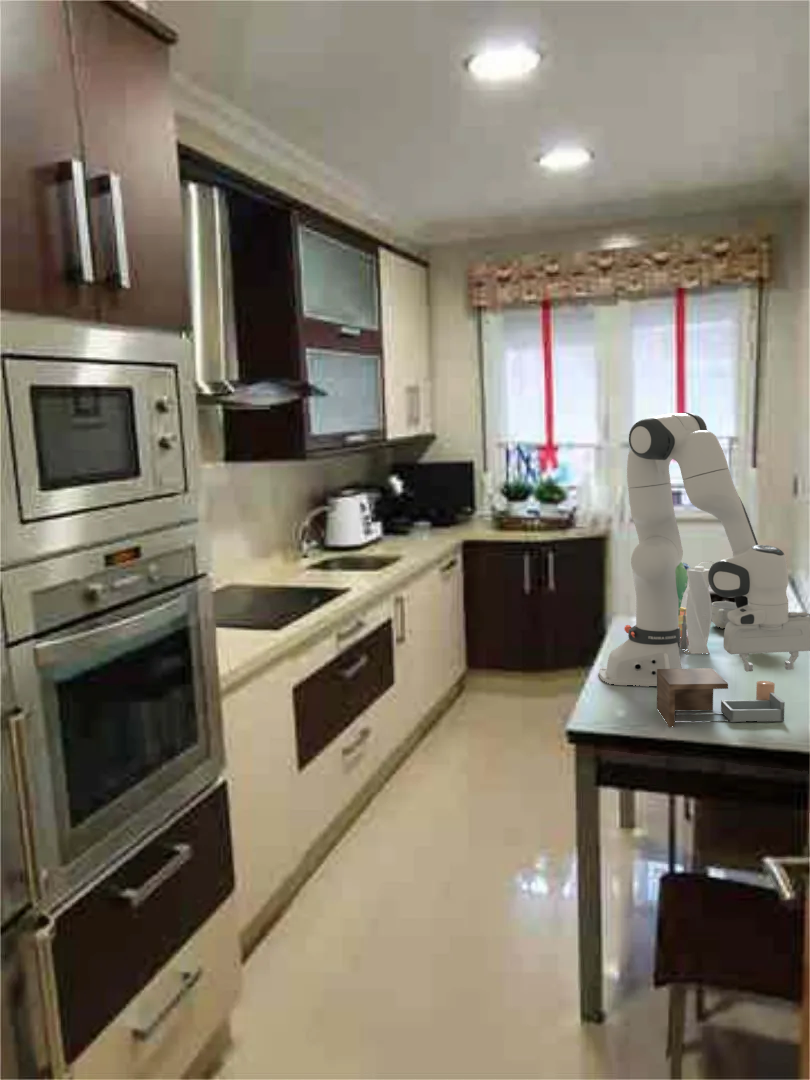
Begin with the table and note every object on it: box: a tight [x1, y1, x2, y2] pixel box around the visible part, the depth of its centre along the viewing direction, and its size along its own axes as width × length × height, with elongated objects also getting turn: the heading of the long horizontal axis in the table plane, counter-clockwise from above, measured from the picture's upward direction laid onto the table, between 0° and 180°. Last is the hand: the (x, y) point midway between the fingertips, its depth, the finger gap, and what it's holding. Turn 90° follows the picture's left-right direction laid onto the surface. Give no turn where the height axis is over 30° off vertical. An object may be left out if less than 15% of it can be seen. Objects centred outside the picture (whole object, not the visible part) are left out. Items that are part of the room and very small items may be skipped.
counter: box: [656, 667, 766, 728], centre depth 193 cm, size 26×12×10 cm, turn 86°
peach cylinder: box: [755, 680, 776, 700], centre depth 199 cm, size 4×4×6 cm
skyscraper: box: [680, 560, 715, 655], centre depth 247 cm, size 8×8×28 cm
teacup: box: [711, 600, 737, 629], centre depth 275 cm, size 14×11×8 cm
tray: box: [720, 692, 785, 723], centre depth 193 cm, size 12×7×4 cm, turn 86°
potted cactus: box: [675, 561, 692, 637], centre depth 267 cm, size 15×15×25 cm
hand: (768, 670), depth 198 cm, fingers open, 8 cm apart
